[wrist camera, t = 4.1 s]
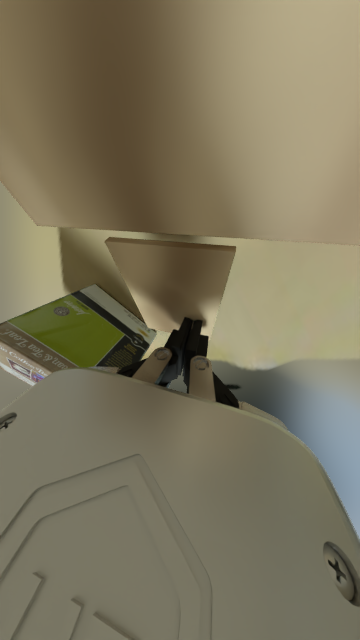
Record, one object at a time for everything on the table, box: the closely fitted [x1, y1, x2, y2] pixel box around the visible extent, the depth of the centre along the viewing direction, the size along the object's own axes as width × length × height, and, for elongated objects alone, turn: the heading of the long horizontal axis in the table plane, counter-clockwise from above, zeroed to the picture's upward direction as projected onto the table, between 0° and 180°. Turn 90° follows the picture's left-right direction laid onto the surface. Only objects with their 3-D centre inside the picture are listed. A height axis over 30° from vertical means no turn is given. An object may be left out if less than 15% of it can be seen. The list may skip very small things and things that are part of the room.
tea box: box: [0, 284, 157, 386], centre depth 23 cm, size 15×10×15 cm, turn 50°
